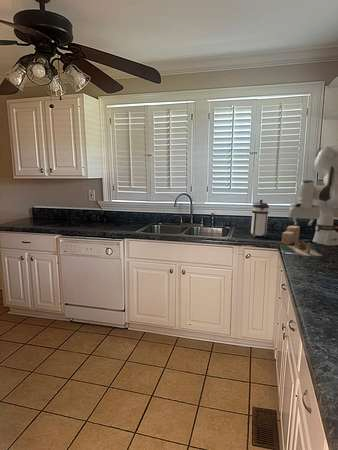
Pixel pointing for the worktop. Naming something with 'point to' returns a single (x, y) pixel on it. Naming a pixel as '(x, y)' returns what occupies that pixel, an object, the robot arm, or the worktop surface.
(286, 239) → the stack of blocks
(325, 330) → the worktop surface
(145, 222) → the worktop surface
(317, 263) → the worktop surface
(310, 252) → the lacing board
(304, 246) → the walnut bead
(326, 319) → the worktop surface
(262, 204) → the coffee press
